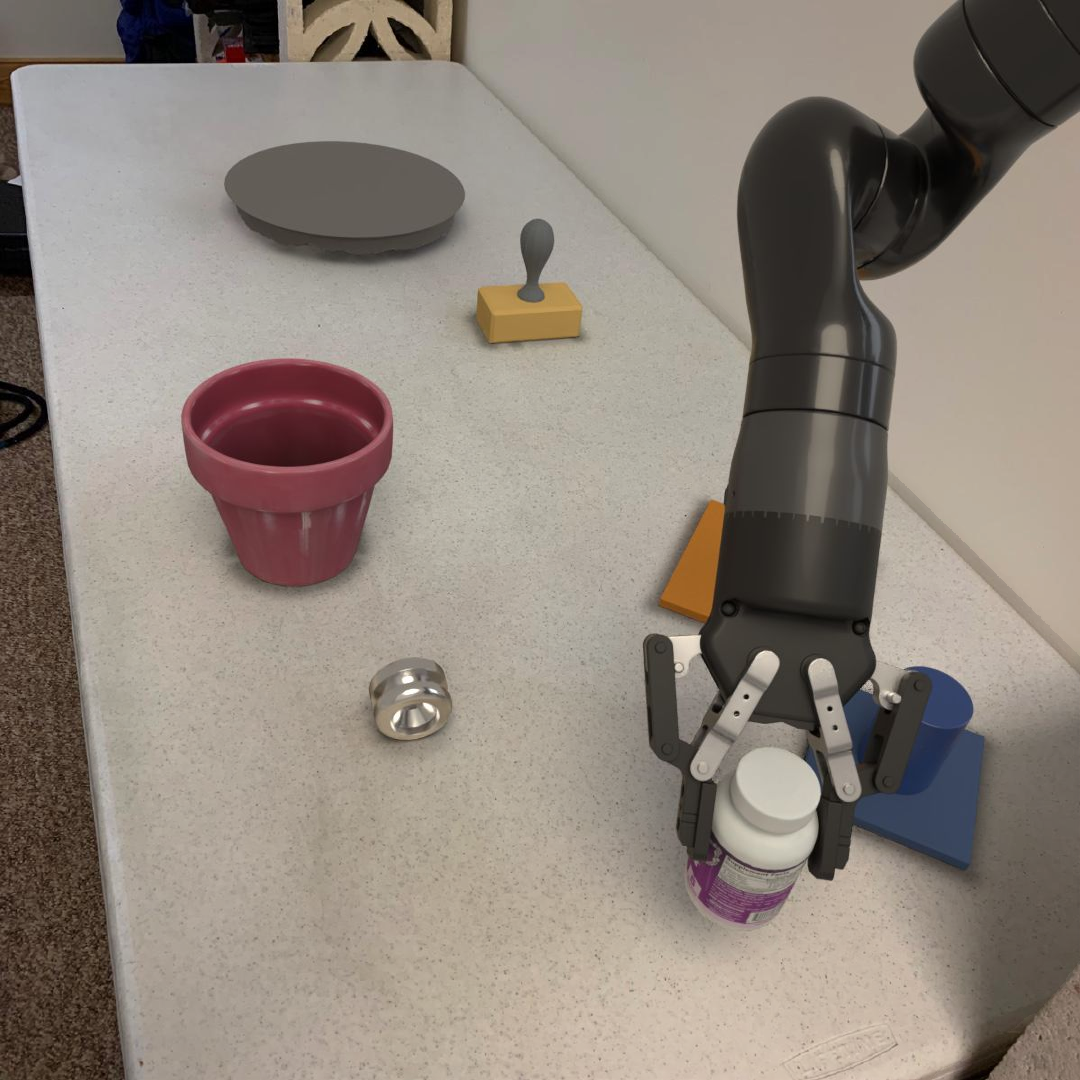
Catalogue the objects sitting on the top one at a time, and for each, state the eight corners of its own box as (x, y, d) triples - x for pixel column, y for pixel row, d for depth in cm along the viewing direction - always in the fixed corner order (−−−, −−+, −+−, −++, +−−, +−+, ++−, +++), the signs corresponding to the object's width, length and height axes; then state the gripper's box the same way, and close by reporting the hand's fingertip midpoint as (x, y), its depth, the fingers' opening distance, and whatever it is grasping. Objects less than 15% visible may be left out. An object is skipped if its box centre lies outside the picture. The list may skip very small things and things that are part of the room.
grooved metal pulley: (443, 702, 67) (446, 652, 64) (452, 737, 65) (456, 688, 62) (368, 713, 66) (368, 663, 62) (375, 749, 64) (375, 699, 60)
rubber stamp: (561, 311, 110) (576, 206, 102) (579, 338, 106) (595, 231, 98) (474, 317, 107) (482, 209, 99) (489, 345, 103) (499, 235, 95)
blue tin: (936, 750, 67) (977, 683, 63) (927, 807, 64) (970, 740, 59) (863, 722, 69) (898, 654, 64) (851, 776, 65) (887, 708, 60)
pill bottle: (686, 831, 55) (725, 722, 48) (783, 854, 54) (835, 746, 48) (676, 922, 50) (717, 815, 44) (781, 947, 50) (837, 843, 44)
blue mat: (980, 743, 69) (984, 736, 69) (965, 871, 62) (970, 864, 61) (826, 684, 72) (829, 677, 71) (793, 800, 64) (796, 792, 64)
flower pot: (382, 484, 84) (383, 352, 75) (401, 603, 74) (404, 465, 65) (204, 493, 80) (184, 356, 72) (198, 618, 70) (174, 476, 62)
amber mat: (868, 561, 83) (871, 554, 82) (836, 673, 73) (840, 666, 72) (708, 505, 86) (710, 498, 86) (658, 605, 76) (660, 598, 76)
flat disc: (229, 276, 107) (224, 237, 104) (226, 173, 127) (223, 138, 124) (482, 273, 114) (485, 237, 111) (443, 176, 134) (444, 143, 131)
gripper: (666, 488, 45) (615, 865, 44) (981, 532, 45) (939, 913, 44) (648, 505, 52) (604, 828, 51) (918, 543, 52) (880, 868, 51)
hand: (758, 865), depth 47 cm, fingers closed on pill bottle, 5 cm apart
